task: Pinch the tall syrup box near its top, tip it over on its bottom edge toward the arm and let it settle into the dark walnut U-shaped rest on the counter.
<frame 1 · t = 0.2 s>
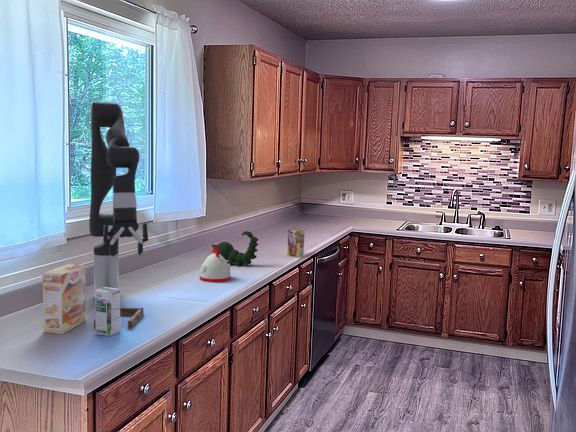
hand: (126, 255, 199), 24 cm above the worktop, tool pointing down, fingers open, 8 cm apart
kitchen timer: (215, 279, 271), on the worktop
toy figurine: (233, 265, 303), on the worktop
walnut U-rest: (119, 320, 205), on the worktop
syrup box: (108, 333, 193), on the worktop
coffeecake box: (65, 327, 198), on the worktop
candy box: (295, 256, 330), on the worktop
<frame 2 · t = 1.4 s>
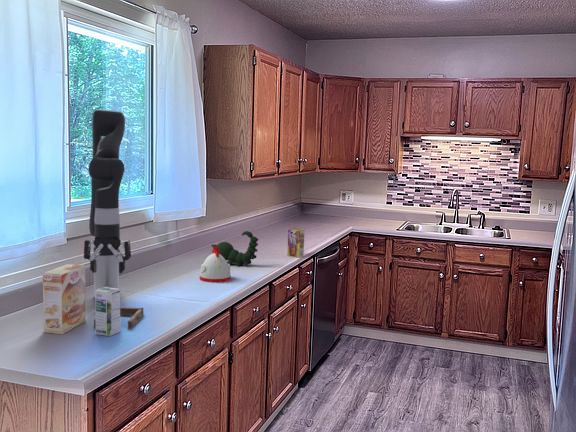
hand: (107, 272, 190), 20 cm above the worktop, tool pointing down, fingers open, 8 cm apart
nothing on the worktop moved.
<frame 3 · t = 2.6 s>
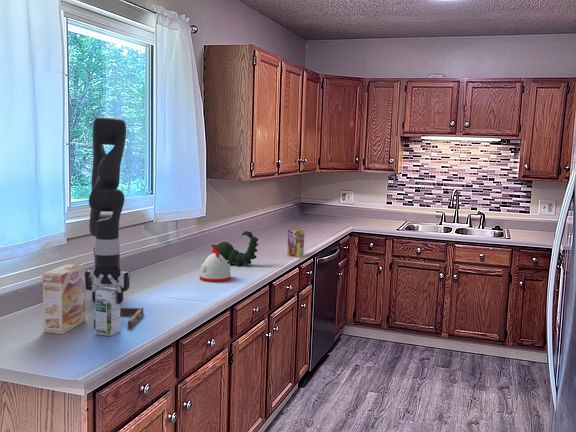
hand: (107, 303, 191), 10 cm above the worktop, tool pointing down, fingers closed on syrup box, 7 cm apart
syrup box: (108, 333, 193), on the worktop, touching gripper
everything else where it was.
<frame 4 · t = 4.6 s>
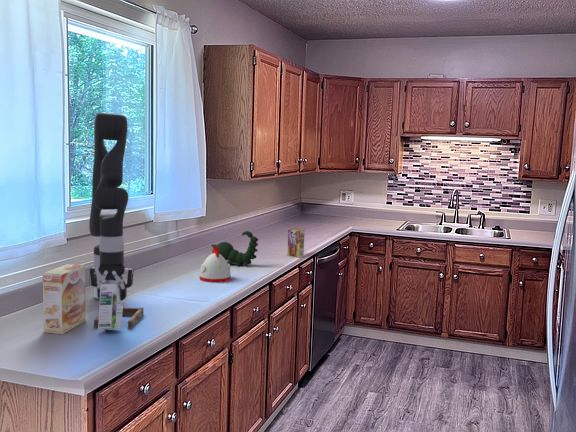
hand: (112, 299, 196), 10 cm above the worktop, tool pointing down, fingers closed on syrup box, 6 cm apart
syrup box: (110, 329, 193), point 1 cm above the worktop, touching gripper
everything else where it was.
when the fingers open (9 cm above the worktop, at t = 5.1 s): syrup box moves 3 cm, point 3 cm above the worktop.
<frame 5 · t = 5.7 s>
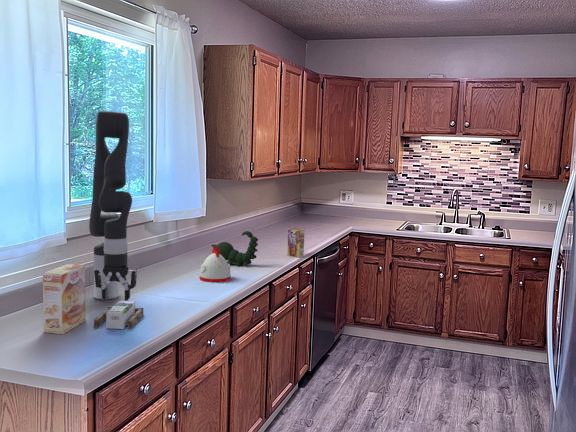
hand: (116, 299, 201), 8 cm above the worktop, tool pointing down, fingers open, 6 cm apart
syrup box: (114, 321, 196), point 3 cm above the worktop
everything else where it was.
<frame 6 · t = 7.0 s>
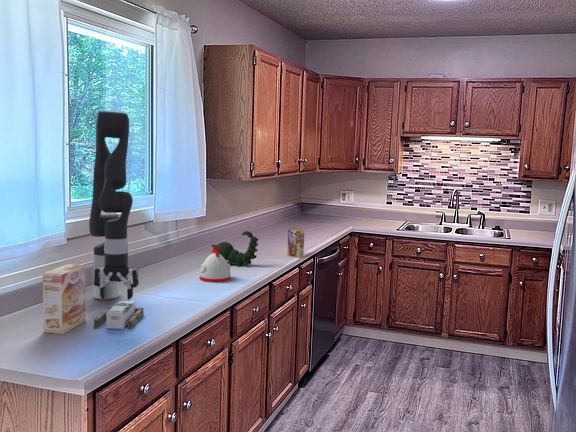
hand: (116, 298, 201), 9 cm above the worktop, tool pointing down, fingers open, 8 cm apart
nothing on the worktop moved.
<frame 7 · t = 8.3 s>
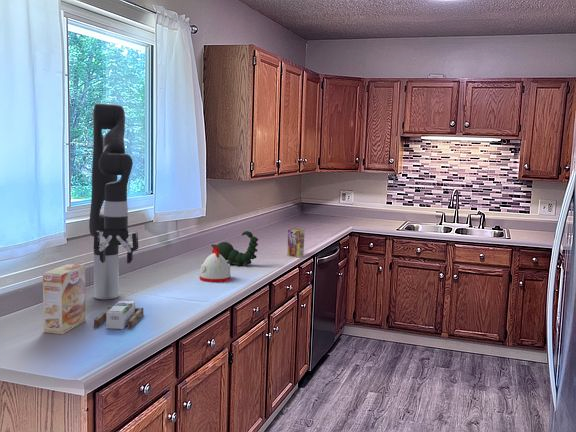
hand: (116, 262, 199), 21 cm above the worktop, tool pointing down, fingers open, 8 cm apart
nothing on the worktop moved.
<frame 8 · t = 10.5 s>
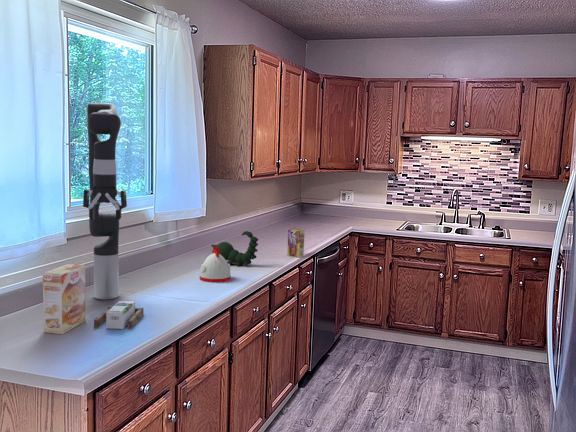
hand: (105, 220, 205), 34 cm above the worktop, tool pointing down, fingers open, 8 cm apart
nothing on the worktop moved.
at the end: syrup box tilted 89°; syrup box inside the target area (1.0 cm from its centre), point 2.7 cm above the worktop; the gripper is holding nothing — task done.
